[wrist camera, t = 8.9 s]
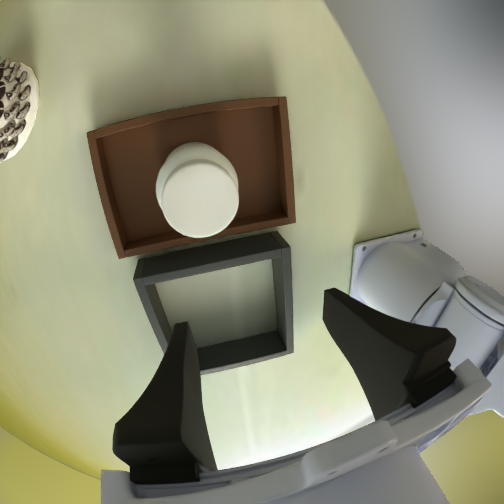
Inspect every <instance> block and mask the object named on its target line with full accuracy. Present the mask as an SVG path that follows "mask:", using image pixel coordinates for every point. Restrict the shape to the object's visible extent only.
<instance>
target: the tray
mask: <svg viewBox="0 0 504 504" xmlns="http://www.w3.org/2000/svg"><path fill="white" fill-rule="evenodd" d="M87 138H88V144H89V149H90V154H91V159H92V164H93V169H94V173H95V178H96V182H97V186H98V190H99V194H100V198H101V202H102V206H103V209H104V213H105V216H106V220H107V223H108V227H109V230H110V233H111V237H112V240H113V243H114V246H115V249H116V252H117V255H118V258H119V259H122V258H126V257H131V256H135V255H140V254H144V253H149V252H153V251H158V250H163V249H167V248H172V247H177V246H181V245H186V244H191V243H196V242H201V241H205V240H210V239H215V238H220V237H225V236H230V235H235V234H240V233H245V232H250V231H255V230H261V229H266V228H271V227H276V226H281V225H287V224H292V223H296V217H295V198H294V182H293V168H292V155H291V142H290V131H289V120H288V110H287V100H286V97H265V98H251V99H240V100H231V101H223V102H215V103H208V104H201V105H195V106H189V107H183V108H178V109H173V110H168V111H163V112H159V113H154V114H150V115H145V116H141V117H137V118H133V119H130V120H126V121H122V122H119V123H115V124H112V125H109V126H105V127H102V128H99V129H96V130H93V131H90V132H87ZM191 142H200V143H205V144H207V145H210V146H212V147H213V148H214V149H216V150H217V151H218V152H220V153H221V154H222V155H223V156H225V157H226V158H227V159H228V160H229V162H230V163H231V164H232V166H233V167H234V169H235V172H236V174H237V178H238V194H239V205H238V209H237V212H236V214H235V216H234V218H233V220H232V221H231V223H230V224H229V225H228V226H227V227H226V228H225V229H223V230H222V231H220V232H219V233H217V234H215V235H212V236H209V237H202V238H194V237H189V236H186V235H183V234H181V233H179V232H178V231H176V230H175V229H174V228H173V227H172V226H171V225H170V224H169V223H168V222H167V220H166V218H165V216H164V214H163V211H162V209H161V207H160V205H159V203H158V200H157V196H156V182H157V178H158V174H159V171H160V169H161V167H162V166H163V164H164V162H165V160H166V159H167V157H168V156H169V154H170V153H171V152H172V151H173V150H175V149H176V148H177V147H179V146H181V145H183V144H186V143H191Z"/></svg>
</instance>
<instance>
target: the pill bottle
mask: <svg viewBox="0 0 504 504" xmlns="http://www.w3.org/2000/svg"><path fill="white" fill-rule="evenodd" d="M156 196H157V200H158V203H159V205H160V207H161V209H162V211H163V214H164V216H165V218H166V220H167V222H168V223H169V224H170V225H171V226H172V227H173V228H174V229H175V230H176V231H178V232H179V233H181V234H183V235H186V236H189V237H194V238H202V237H209V236H212V235H215V234H217V233H219V232H220V231H222V230H223V229H225V228H226V227H227V226H228V225H229V224H230V223H231V221H232V220H233V218H234V216H235V214H236V212H237V209H238V205H239V194H238V178H237V174H236V172H235V169H234V167H233V166H232V164H231V163H230V162H229V160H228V159H227V158H226V157H225V156H223V155H222V154H221V153H220V152H218V151H217V150H216V149H214V148H213V147H212V146H210V145H207V144H205V143H200V142H191V143H186V144H183V145H181V146H179V147H177V148H176V149H175V150H173V151H172V152H171V153H170V154H169V156H168V157H167V159H166V160H165V162H164V164H163V166H162V167H161V169H160V171H159V174H158V178H157V182H156Z"/></svg>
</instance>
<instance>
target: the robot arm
mask: <svg viewBox="0 0 504 504" xmlns="http://www.w3.org/2000/svg"><path fill="white" fill-rule="evenodd" d="M363 247H364V248H363ZM362 248H363V249H362ZM323 321H324V323H325V325H326V328H327V329H328V331H329V333H330V335H331V337H332V338H333V340H334V341H335V343H336V344H337V346H338V347H339V348H340V350H341V351H342V353H343V354H344V356H345V357H346V359H347V360H348V362H349V363H350V365H351V366H352V368H353V370H354V372H355V374H356V376H357V378H358V380H359V382H360V384H361V386H362V388H363V390H364V393H365V395H366V397H367V400H368V402H369V404H370V407H371V409H372V412H373V415H374V418H375V421H374V422H372V423H370V424H368V425H366V426H364V427H362V428H359V429H357V430H355V431H353V432H350V433H348V434H346V435H343V436H341V437H338V438H336V439H333V440H331V441H328V442H325V443H323V444H320V445H317V446H314V447H311V448H308V449H305V450H302V451H299V452H296V453H292V454H289V455H286V456H282V457H279V458H275V459H271V460H267V461H263V462H259V463H255V464H250V465H245V466H240V467H235V468H230V469H224V470H217V466H216V463H215V459H214V455H213V451H212V448H211V444H210V439H209V435H208V431H207V426H206V421H205V416H204V411H203V404H202V392H201V377H200V365H199V359H198V353H197V348H196V345H195V342H194V339H193V336H192V333H191V330H190V327H189V324H188V321H187V322H182V323H176V324H175V325H174V329H173V332H172V335H171V338H170V341H169V344H168V347H167V349H166V352H165V354H164V357H163V359H162V361H161V363H160V365H159V367H158V369H157V371H156V373H155V375H154V377H153V378H152V380H151V382H150V384H149V385H148V387H147V388H146V390H145V391H144V393H143V394H142V395H141V397H140V398H139V399H138V400H137V402H136V403H135V404H134V405H133V407H132V408H131V409H130V410H129V411H128V412H127V413H126V414H125V415H124V416H123V417H122V418H121V419H120V420H119V421H118V422H117V423H116V424H115V429H114V434H113V453H114V454H115V455H116V456H117V457H118V458H119V459H121V460H122V461H123V462H125V463H126V464H127V465H129V466H130V472H127V471H120V470H101V504H450V503H449V502H448V500H447V498H446V497H445V495H444V493H443V492H442V490H441V488H440V487H439V485H438V484H437V482H436V480H435V479H434V477H433V475H432V474H431V473H430V471H429V469H428V467H427V466H426V464H425V463H424V461H423V459H422V458H421V456H420V455H419V453H420V452H422V451H423V450H424V449H426V448H427V447H429V446H430V445H431V444H433V443H434V442H435V441H437V440H438V439H439V438H440V437H442V436H443V435H444V434H446V433H447V432H448V431H449V430H451V429H452V428H453V427H454V426H455V425H457V424H458V423H459V422H460V421H461V420H463V419H464V417H466V416H469V415H473V414H476V413H480V412H483V411H487V410H494V411H495V412H496V413H498V414H499V415H500V416H502V417H503V418H504V297H503V296H502V295H501V294H499V293H498V292H497V291H496V290H494V289H493V288H491V287H490V286H488V285H487V284H485V283H483V282H482V281H480V280H478V279H476V278H474V277H472V276H466V273H465V271H464V269H463V268H462V266H461V265H460V264H459V262H458V261H456V260H455V259H454V258H452V257H451V256H449V255H448V254H446V253H445V252H443V251H442V250H440V249H438V248H437V247H435V246H434V245H432V244H431V243H429V242H428V241H426V240H424V239H423V230H421V229H416V230H412V231H408V232H404V233H400V234H396V235H392V236H388V237H383V238H379V239H375V240H371V241H367V242H362V243H358V244H356V245H355V247H354V254H353V266H352V277H351V287H350V296H349V295H347V294H346V293H344V292H342V291H340V290H338V289H336V288H331V289H327V290H324V306H323Z"/></svg>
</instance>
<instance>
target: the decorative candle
mask: <svg viewBox="0 0 504 504" xmlns="http://www.w3.org/2000/svg"><path fill="white" fill-rule="evenodd" d="M39 102H40V99H39V85H38V80H37V78H36V76H35V74H34V72H33V70H32V68H30V67H28V66H26V65H25V64H23V63H21V62H12V63H11V59H10V58H7V59H6V60H4V61H3V63H1V64H0V163H1V162H3V161H4V160H6V159H8V158H10V157H12V156H14V155H15V154H16V153H17V151H18V150H19V149H20V148H21V147H22V146H23V144H24V143H25V142H26V141H27V139H28V136H29V134H30V132H31V130H32V128H33V126H34V124H35V121H36V116H37V111H38V106H39Z"/></svg>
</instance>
